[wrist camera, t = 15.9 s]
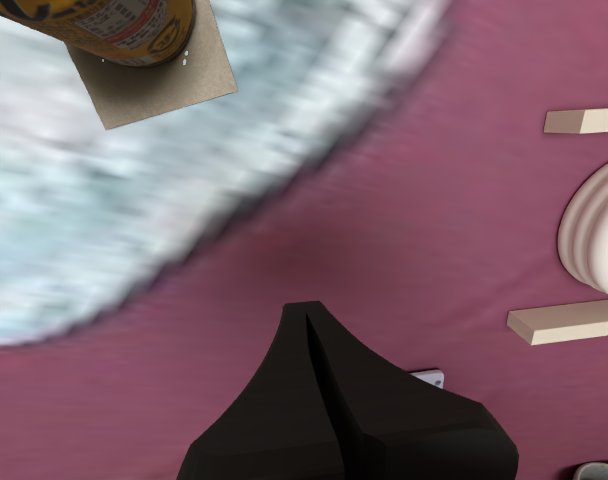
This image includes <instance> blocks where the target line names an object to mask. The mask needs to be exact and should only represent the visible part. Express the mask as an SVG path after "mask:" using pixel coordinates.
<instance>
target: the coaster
mask: <svg viewBox="0 0 608 480" xmlns="http://www.w3.org/2000/svg"><path fill="white" fill-rule="evenodd" d="M558 252H559V256H560V259H561V262H562V264H563V266H564V267H565V268H566V270H567V271H568V272H569V273H570V274H571V275H572V276H573V277H574V278H576V279H577V280H579V281H580V282H583V283H585V284H588V285H590V286H591V287H593V288H594V289H597V290H599V291H602V292H604V293H606V294H607V295H608V163H607V164H606V165H604V166H603V167H602V168H600V169H599V170H598V171H596V172H595V173H594V174H593V175H592V176H591V177H590V178H589V179H588V180H587V181H586V182H585V183H584V184H583V185H582V186H581V187H580V189H579V190H578V191H577V192H576V194H575V195H574V197H573V198H572V200H571V201H570V203H569V205H568V206H567V208H566V210H565V213H564V215H563V218H562V220H561V224H560V227H559V232H558Z"/></svg>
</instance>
